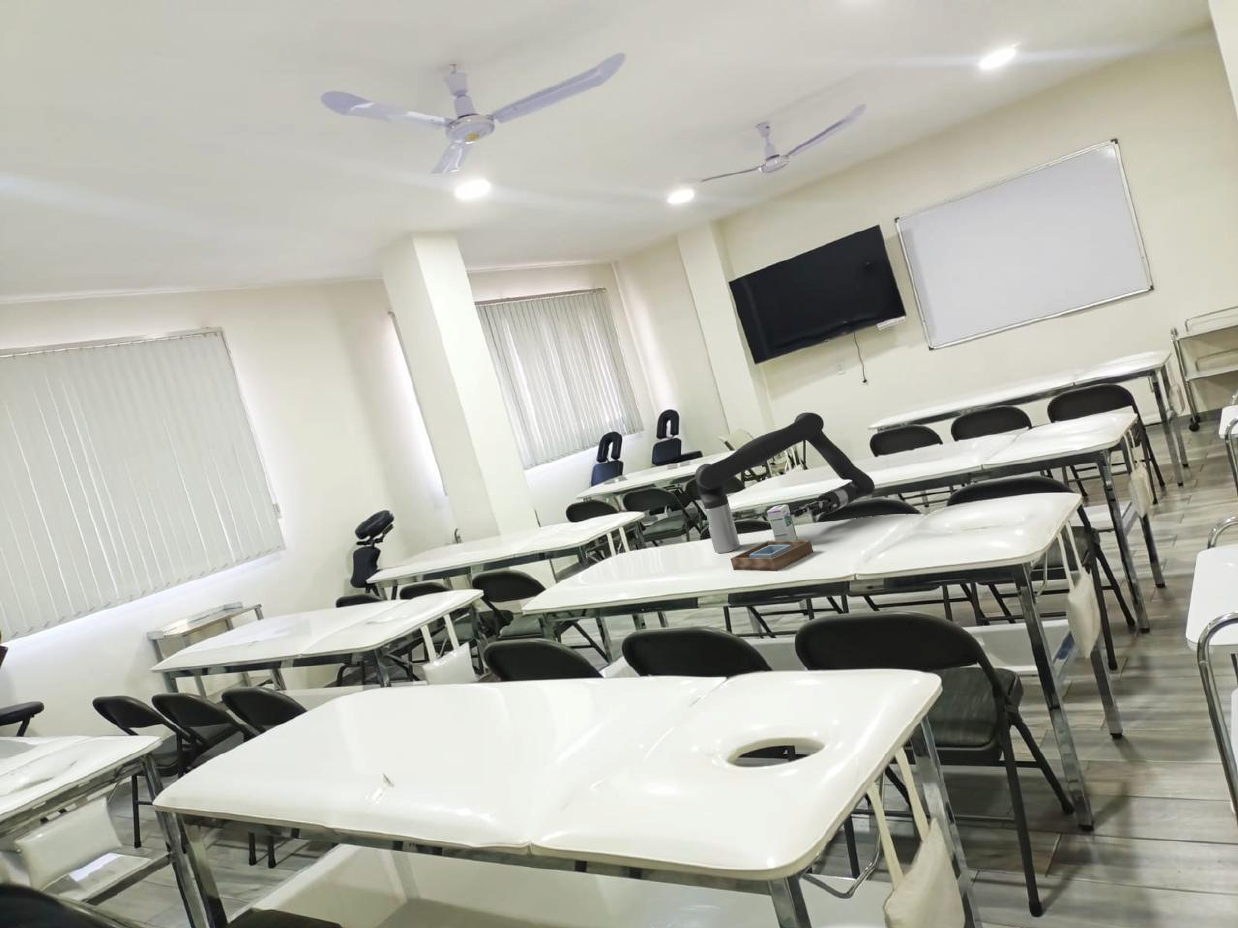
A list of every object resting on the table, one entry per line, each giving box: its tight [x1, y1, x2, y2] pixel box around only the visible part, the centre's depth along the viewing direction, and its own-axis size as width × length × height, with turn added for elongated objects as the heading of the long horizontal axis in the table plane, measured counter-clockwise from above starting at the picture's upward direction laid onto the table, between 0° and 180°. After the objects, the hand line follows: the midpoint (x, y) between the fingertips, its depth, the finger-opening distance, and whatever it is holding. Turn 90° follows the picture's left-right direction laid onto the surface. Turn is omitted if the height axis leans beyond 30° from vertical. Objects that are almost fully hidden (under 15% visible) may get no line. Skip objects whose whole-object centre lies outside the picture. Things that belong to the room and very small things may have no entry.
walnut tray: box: [730, 540, 814, 572], centre depth 270 cm, size 20×18×4 cm
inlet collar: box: [749, 545, 792, 558], centre depth 270 cm, size 10×10×3 cm
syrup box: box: [766, 504, 799, 541], centre depth 284 cm, size 6×6×14 cm
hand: (803, 514), depth 290 cm, fingers open, 8 cm apart
